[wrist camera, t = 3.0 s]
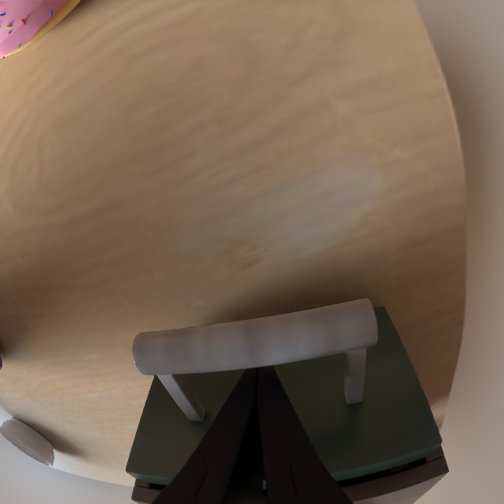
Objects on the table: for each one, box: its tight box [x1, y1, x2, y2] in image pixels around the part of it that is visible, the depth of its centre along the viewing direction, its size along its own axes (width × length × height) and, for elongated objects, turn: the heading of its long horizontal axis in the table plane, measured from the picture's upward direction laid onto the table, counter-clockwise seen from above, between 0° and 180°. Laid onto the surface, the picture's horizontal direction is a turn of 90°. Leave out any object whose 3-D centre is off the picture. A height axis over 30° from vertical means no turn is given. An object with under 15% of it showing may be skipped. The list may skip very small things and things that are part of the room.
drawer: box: [125, 298, 442, 496], centre depth 13 cm, size 18×11×8 cm, turn 13°
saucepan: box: [0, 418, 54, 466], centre depth 28 cm, size 11×18×4 cm, turn 59°
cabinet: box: [131, 444, 449, 504], centre depth 15 cm, size 15×13×10 cm
